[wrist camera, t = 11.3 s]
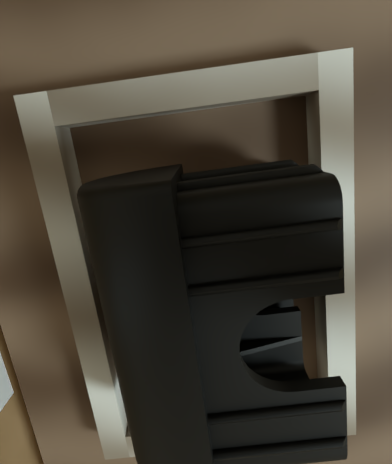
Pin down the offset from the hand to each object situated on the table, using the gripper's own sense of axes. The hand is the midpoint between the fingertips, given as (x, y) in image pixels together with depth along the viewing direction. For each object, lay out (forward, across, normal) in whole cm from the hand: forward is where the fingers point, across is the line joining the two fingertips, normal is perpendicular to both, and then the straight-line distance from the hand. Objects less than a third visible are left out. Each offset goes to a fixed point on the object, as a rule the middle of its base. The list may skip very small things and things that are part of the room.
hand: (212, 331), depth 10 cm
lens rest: (+7, 0, 0) cm, 7 cm away
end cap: (+6, 0, 0) cm, 6 cm away
